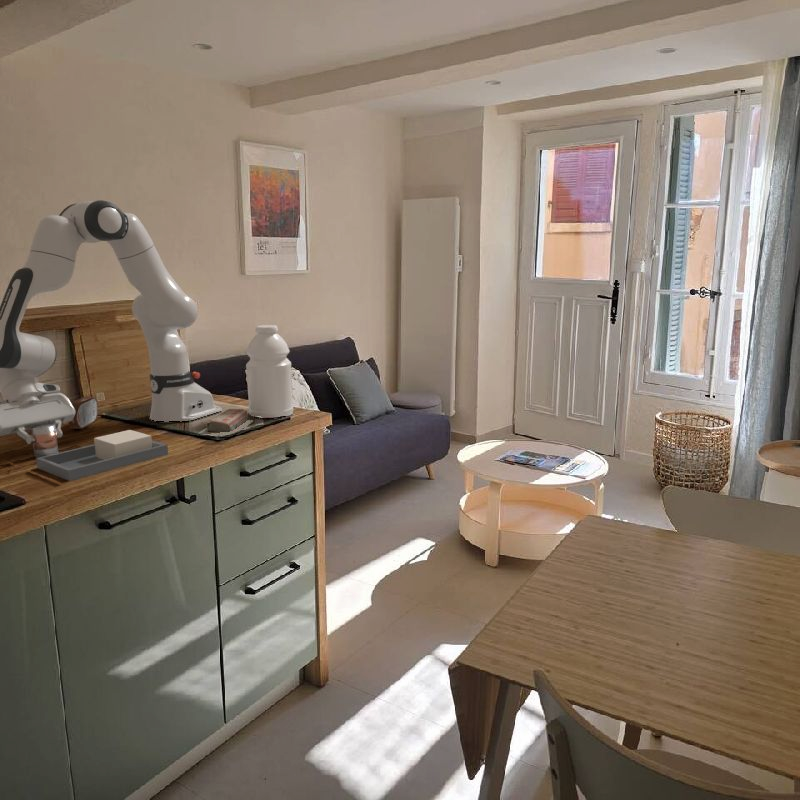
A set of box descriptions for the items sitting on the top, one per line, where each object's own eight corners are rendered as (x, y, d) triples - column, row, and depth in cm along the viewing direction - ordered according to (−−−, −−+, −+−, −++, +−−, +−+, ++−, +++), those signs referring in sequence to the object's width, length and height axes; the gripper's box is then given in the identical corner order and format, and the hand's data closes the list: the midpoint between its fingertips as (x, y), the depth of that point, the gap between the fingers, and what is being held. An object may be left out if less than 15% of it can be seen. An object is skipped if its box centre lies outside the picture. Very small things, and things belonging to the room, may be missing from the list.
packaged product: (222, 407, 220) (253, 407, 219) (223, 422, 222) (254, 423, 220) (197, 421, 203) (230, 422, 202) (198, 438, 204) (231, 439, 203)
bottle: (281, 407, 239) (276, 322, 232) (301, 414, 228) (297, 326, 221) (241, 413, 230) (235, 325, 224) (260, 421, 220) (255, 330, 213)
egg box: (131, 447, 192) (129, 429, 191) (152, 454, 186) (151, 435, 185) (96, 456, 185) (94, 438, 184) (116, 464, 179) (114, 444, 178)
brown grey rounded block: (91, 419, 226) (88, 393, 224) (101, 419, 226) (98, 393, 224) (68, 432, 211) (64, 404, 209) (79, 432, 211) (75, 404, 209)
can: (52, 451, 192) (48, 422, 190) (63, 455, 188) (59, 425, 187) (30, 456, 188) (26, 426, 186) (41, 460, 184) (37, 430, 182)
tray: (134, 445, 196) (133, 435, 196) (168, 456, 186) (167, 444, 186) (37, 470, 177) (36, 458, 176) (69, 483, 167) (68, 470, 166)
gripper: (-16, 397, 181) (6, 441, 177) (64, 384, 196) (86, 424, 192) (-21, 412, 185) (1, 455, 181) (58, 397, 200) (80, 437, 196)
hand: (45, 439), depth 187 cm, fingers closed on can, 6 cm apart
